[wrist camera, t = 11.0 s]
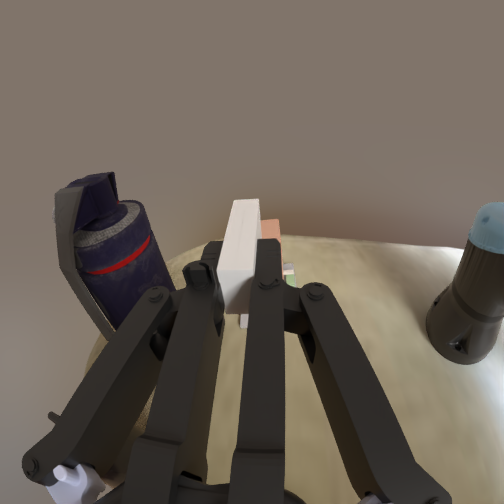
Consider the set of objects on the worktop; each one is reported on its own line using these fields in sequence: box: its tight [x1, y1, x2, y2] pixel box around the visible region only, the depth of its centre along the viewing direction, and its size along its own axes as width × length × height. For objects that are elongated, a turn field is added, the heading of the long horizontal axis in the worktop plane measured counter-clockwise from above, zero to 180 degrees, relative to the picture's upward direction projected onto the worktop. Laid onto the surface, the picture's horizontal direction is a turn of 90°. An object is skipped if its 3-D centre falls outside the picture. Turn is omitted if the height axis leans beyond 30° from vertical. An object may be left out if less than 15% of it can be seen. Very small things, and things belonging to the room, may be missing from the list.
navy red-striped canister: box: [52, 172, 176, 341], centre depth 35 cm, size 14×12×30 cm
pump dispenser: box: [48, 412, 145, 488], centre depth 21 cm, size 10×10×15 cm
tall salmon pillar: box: [261, 219, 294, 279], centre depth 46 cm, size 10×5×13 cm, turn 89°
